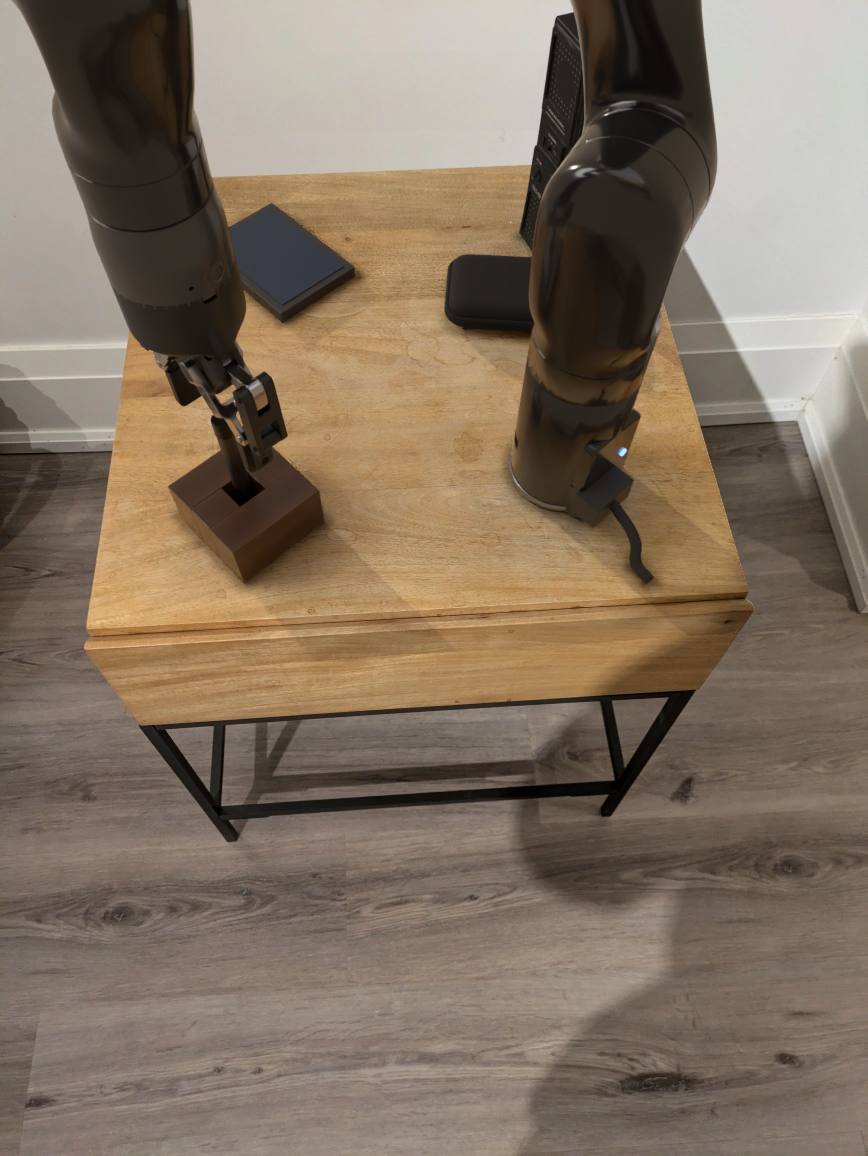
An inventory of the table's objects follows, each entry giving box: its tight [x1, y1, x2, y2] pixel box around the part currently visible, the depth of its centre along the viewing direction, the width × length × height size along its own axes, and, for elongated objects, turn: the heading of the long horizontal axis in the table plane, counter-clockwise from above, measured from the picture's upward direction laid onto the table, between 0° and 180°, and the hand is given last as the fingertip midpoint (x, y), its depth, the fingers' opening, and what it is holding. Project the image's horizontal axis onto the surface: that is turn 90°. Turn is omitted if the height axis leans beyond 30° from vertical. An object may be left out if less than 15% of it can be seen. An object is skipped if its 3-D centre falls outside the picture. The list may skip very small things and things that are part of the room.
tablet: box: [228, 202, 356, 323], centre depth 90 cm, size 14×10×1 cm
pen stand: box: [167, 446, 326, 584], centre depth 73 cm, size 9×9×5 cm
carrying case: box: [443, 253, 533, 334], centre depth 87 cm, size 11×3×15 cm
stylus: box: [210, 414, 254, 507], centre depth 69 cm, size 2×2×14 cm
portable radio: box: [518, 11, 584, 252], centre depth 82 cm, size 8×6×25 cm
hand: (224, 430), depth 64 cm, fingers open, 8 cm apart
